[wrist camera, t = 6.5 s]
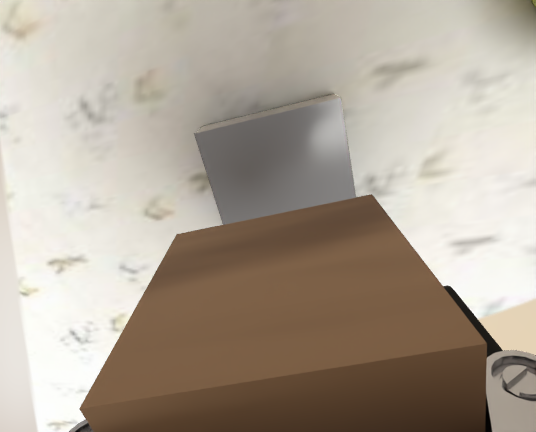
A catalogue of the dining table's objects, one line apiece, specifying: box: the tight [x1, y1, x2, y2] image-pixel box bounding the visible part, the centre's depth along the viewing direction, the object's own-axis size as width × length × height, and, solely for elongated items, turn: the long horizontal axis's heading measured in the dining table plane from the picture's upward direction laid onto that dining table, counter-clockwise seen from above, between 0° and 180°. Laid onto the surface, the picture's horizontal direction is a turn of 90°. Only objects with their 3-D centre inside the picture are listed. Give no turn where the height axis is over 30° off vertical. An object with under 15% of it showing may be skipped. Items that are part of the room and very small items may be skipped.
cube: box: [80, 194, 487, 432], centre depth 9 cm, size 6×6×6 cm
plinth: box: [194, 94, 356, 225], centre depth 27 cm, size 10×10×3 cm
